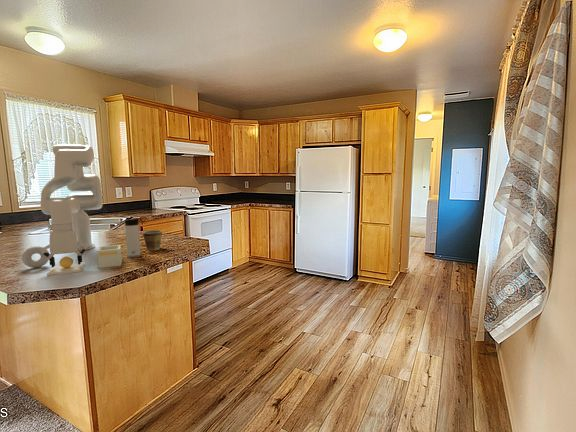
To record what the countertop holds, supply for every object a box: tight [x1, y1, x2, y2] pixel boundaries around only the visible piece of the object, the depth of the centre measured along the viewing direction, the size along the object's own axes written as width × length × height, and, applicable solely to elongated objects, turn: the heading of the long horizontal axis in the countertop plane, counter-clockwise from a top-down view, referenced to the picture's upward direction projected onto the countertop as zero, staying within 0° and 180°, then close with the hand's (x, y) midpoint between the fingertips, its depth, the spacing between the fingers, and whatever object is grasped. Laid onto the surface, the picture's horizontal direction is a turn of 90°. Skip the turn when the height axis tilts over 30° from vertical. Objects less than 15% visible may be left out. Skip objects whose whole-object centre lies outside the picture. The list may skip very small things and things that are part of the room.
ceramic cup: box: [142, 229, 163, 251], centre depth 177 cm, size 13×10×10 cm
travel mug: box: [124, 217, 142, 259], centre depth 159 cm, size 6×7×20 cm
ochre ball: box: [58, 256, 74, 268], centre depth 138 cm, size 5×5×5 cm
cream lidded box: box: [96, 244, 123, 269], centre depth 146 cm, size 9×9×8 cm
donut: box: [21, 245, 50, 269], centre depth 141 cm, size 10×4×10 cm, turn 132°
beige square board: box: [46, 262, 86, 276], centre depth 138 cm, size 12×12×1 cm
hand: (66, 265), depth 138 cm, fingers open, 9 cm apart
